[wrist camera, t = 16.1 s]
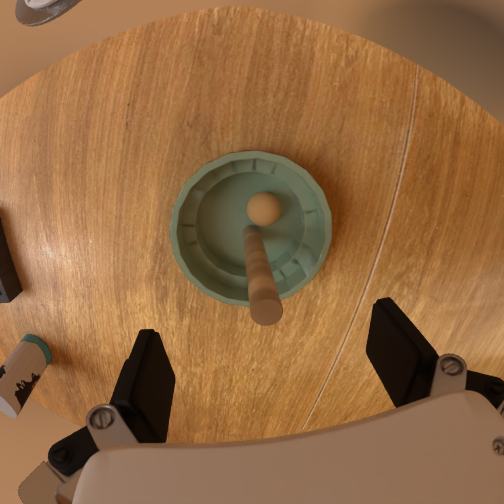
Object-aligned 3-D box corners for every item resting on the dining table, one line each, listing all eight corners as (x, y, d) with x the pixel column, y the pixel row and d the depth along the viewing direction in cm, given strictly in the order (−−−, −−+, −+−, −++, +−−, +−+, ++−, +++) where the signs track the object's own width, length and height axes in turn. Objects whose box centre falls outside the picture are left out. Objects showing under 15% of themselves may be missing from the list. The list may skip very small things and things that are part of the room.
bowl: (171, 160, 29) (157, 164, 23) (311, 145, 29) (328, 146, 24) (193, 286, 34) (187, 313, 29) (316, 272, 35) (331, 295, 29)
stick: (243, 223, 31) (253, 297, 16) (261, 225, 32) (286, 300, 17) (241, 240, 32) (248, 325, 17) (258, 242, 32) (279, 327, 17)
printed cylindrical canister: (20, 342, 37) (-18, 392, 23) (31, 328, 36) (-12, 383, 22) (44, 366, 39) (12, 420, 25) (56, 355, 38) (21, 415, 24)
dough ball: (262, 178, 28) (264, 200, 26) (286, 197, 30) (291, 219, 28) (239, 199, 30) (239, 222, 28) (263, 215, 32) (265, 238, 30)
